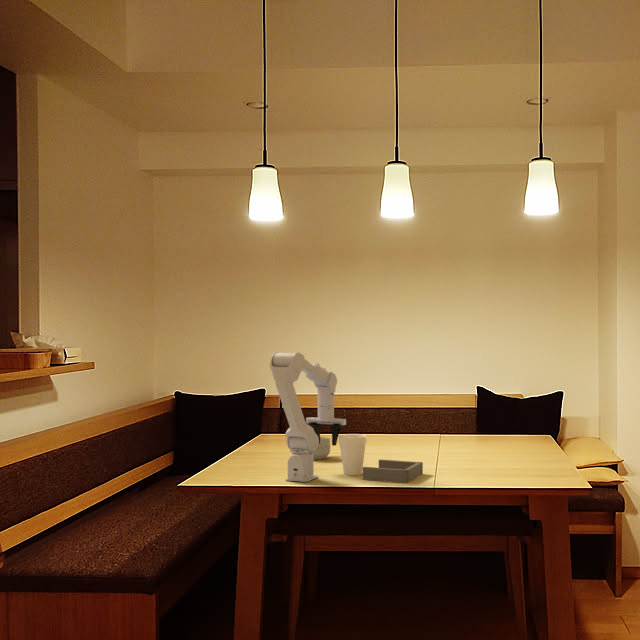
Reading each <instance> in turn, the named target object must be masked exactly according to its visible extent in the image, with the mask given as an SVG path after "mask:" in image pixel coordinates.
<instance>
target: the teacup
mask: <svg viewBox="0 0 640 640" xmlns="http://www.w3.org/2000/svg"><path fill="white" fill-rule="evenodd" d="M330 452H331V437H329V436H320V444H319V445H318V448H317V449H316V451H315V452H313V461H314V460H315V461H317V460H324V459H326V458H327V457H328V456H329V454H331V453H330Z"/></svg>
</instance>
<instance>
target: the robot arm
mask: <svg viewBox="0 0 640 640" xmlns="http://www.w3.org/2000/svg"><path fill="white" fill-rule="evenodd" d="M269 368H270V371H271V373H272V374H271V375H272V376H273V380H274V383H275V387H276V390H277V392H278V395H279V398H280V401H281V405H282V408H283V411H284V413H285V416H286V419H287V423H288V426H289V427H288V428H287V430H286V432H285V434H284V435H285V439H286V446H287V448H288V450H289V452H290V453H291V456H290V457H289V458H288V460H287V477H286V478H285V479H284V480H285V481H288V482H290V481H291V482H303V483H307V482H310V481H312V480H314V479H317V478H318V477H319V475H315V474H314V471H315V469H314V460H313V452H315V451H316V449H317V448H318V445H319V444H320V437H321V430H322V429H321V428H322V425H330V430H331V445H332V446H336V445H337V442H338V440H339V436H340V435H339V434H340V433H341V430H342V428H343V426H345V425H347V419H346V418H338V417H337V418H336V417H335V393H336V388H337V387H336V386H337V384H338V379H337V375H336V374H335V373H334V372H332V371H328V370H327V369H326V368H323V366H322V367H321V365H320V363H318V362H315V363H310V361H308V360H307V359H306V358H305V355H304V354H302V353H301V352H297V351H296V352H279V351H275V352H274V353H273V354H272V355H271V358H270V362H269ZM302 372H303V373H305V377H306V378H307V379H308V380H310V381H311V382H313V384H314V386H315V388H317V417H310V416H309V417H306V418H305V417H304V414H303V410H302V408H301V407H302V406H301V404H300V402H299V398H298V395H297V391H296V389H295V386H294V383H296V382H297V381H298V379H299V377H300V376H301V373H302ZM309 424H310V425H309Z"/></svg>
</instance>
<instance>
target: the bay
mask: <svg viewBox="0 0 640 640" xmlns="http://www.w3.org/2000/svg"><path fill="white" fill-rule="evenodd" d="M423 467H424V465H423V462H422V461H410V460H409V461H408V460H407V461H406V460H398V459H396V460H395V459H393V460H392V459H378V467H375V466H374V467H373V466H363V469H362V480H365V481H379V482H389V483H405V484H408V483H410V482H411V481H413V480H415V479H416V478H419V477H420V476H422V475H423V472H424V471H423V469H424V468H423Z"/></svg>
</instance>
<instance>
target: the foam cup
mask: <svg viewBox="0 0 640 640" xmlns="http://www.w3.org/2000/svg"><path fill="white" fill-rule="evenodd" d="M338 443H339V448H340V449H339V450H340V457H341V463H342V470H343V471H342V472H343V475H346V476H361V475H363V467H364V461H365V460H364V458H365V452H366V451H365V450H366V444H367V436H366V435H365V434H360V433H348V434H340V435H338Z"/></svg>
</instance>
